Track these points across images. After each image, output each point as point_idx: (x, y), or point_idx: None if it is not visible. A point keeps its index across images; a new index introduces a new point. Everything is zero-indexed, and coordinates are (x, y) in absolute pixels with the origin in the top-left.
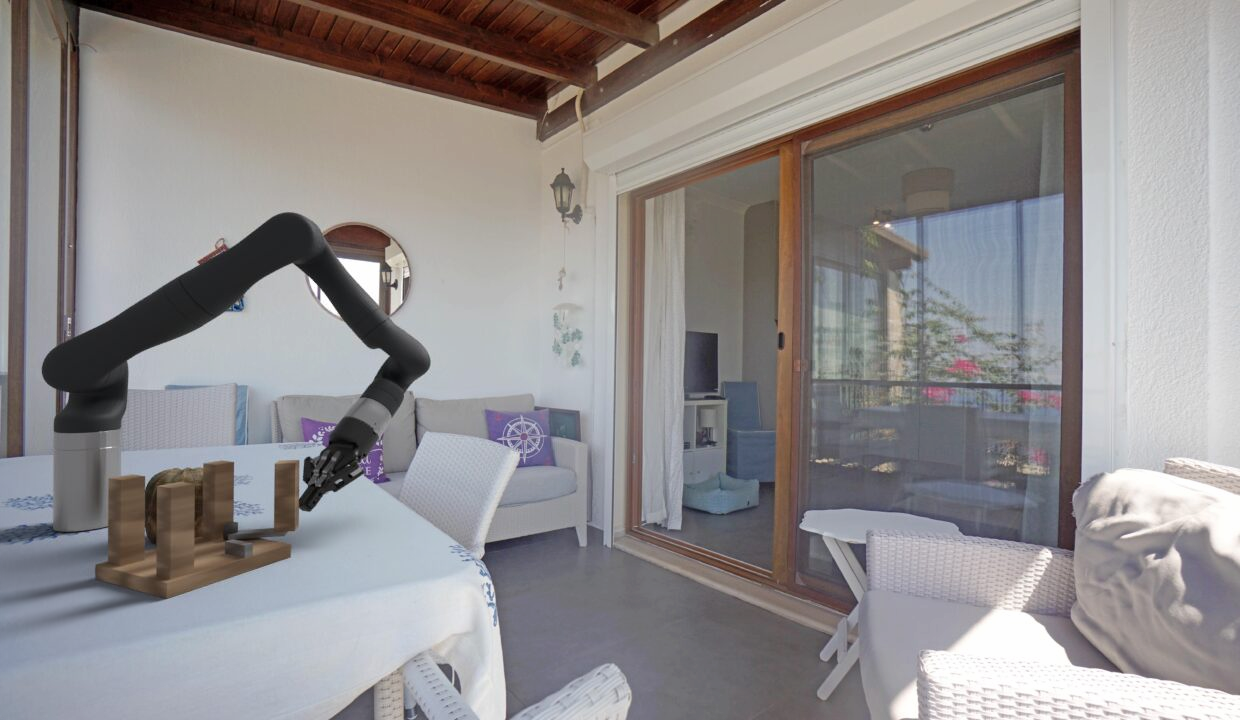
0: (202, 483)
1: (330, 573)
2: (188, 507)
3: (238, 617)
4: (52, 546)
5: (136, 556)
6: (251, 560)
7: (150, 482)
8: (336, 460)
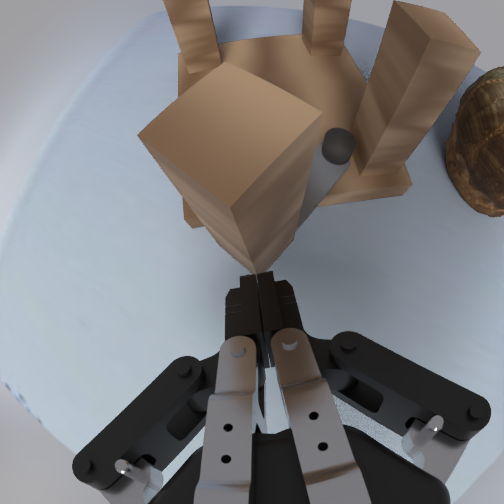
0: (500, 116)
1: (71, 227)
2: None
3: (74, 107)
4: None
5: (307, 43)
6: None
7: None
8: (199, 482)
